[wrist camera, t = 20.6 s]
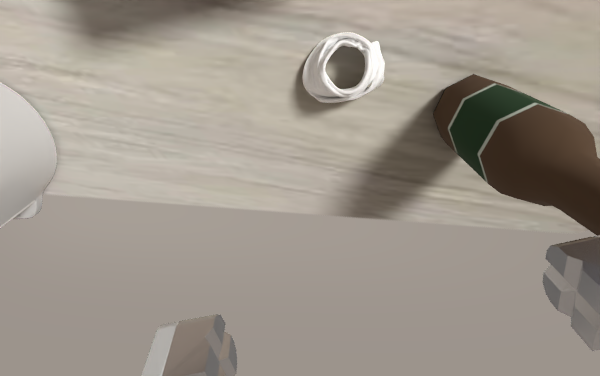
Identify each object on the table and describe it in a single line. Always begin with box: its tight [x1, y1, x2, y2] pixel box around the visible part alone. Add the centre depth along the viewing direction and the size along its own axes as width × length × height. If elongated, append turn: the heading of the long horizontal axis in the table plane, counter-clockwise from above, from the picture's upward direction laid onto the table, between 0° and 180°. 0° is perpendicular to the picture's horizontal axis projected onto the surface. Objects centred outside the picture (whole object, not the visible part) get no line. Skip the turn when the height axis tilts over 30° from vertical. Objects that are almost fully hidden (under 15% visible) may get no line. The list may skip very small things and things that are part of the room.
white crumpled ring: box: [302, 32, 385, 103], centre depth 35 cm, size 8×7×5 cm
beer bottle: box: [433, 74, 600, 236], centre depth 29 cm, size 8×8×24 cm
